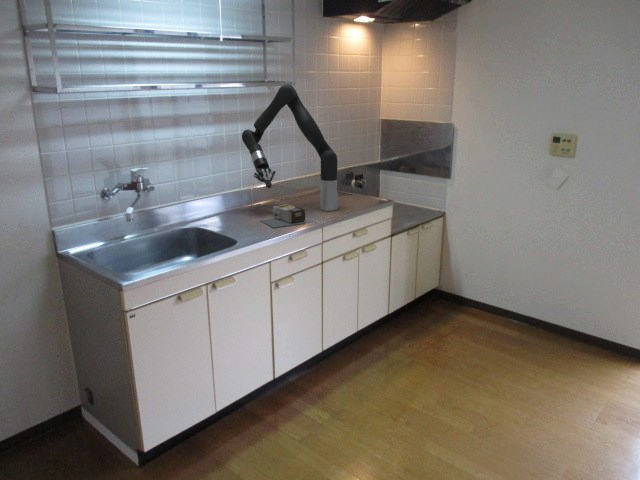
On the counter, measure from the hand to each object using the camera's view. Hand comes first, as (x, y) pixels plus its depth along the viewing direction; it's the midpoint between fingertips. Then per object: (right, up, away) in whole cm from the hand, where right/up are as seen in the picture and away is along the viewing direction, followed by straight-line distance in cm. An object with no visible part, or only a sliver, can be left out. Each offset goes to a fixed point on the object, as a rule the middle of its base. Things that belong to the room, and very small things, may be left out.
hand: (269, 187), depth 280 cm
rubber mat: (+7, -19, -7) cm, 22 cm away
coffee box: (+5, -12, +2) cm, 14 cm away
